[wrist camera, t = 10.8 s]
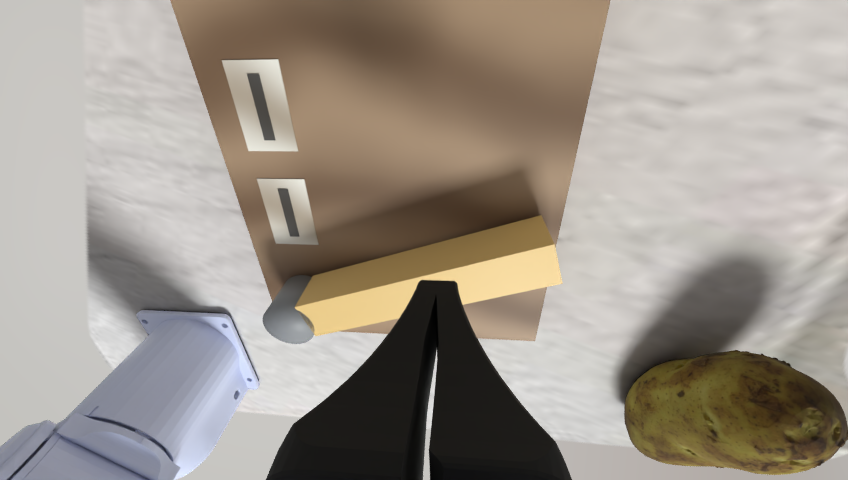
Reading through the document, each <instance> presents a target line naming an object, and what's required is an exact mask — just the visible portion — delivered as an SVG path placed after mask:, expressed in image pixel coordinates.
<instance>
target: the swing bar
mask: <svg viewBox="0 0 848 480" xmlns="http://www.w3.org/2000/svg"><path fill="white" fill-rule="evenodd" d="M421 280H441V281H455V282H456V283H457V284H458V291H459V295H460V298H461V302H462V305H464V304H469V303H474V302H478V301H483V300H488V299H492V298H497V297H502V296H506V295H511V294H516V293H521V292H525V291H530V290H535V289H539V288H544V287H549V286H553V285H558V284H562V279H561V274H560V269H559V264H558V259H557V254H556V249H555V244H554V242H553V240H552V238H551V235H550V233H549V231H548V229H547V227H546V224H545V222H544V220H543V218H542V215H540V216H536V217H532V218H529V219H525V220H521V221H517V222H514V223H510V224H506V225H502V226H499V227H495V228H491V229H487V230H483V231H480V232H476V233H472V234H468V235H465V236H461V237H457V238H453V239H450V240H446V241H442V242H438V243H434V244H431V245H427V246H423V247H419V248H416V249H412V250H408V251H404V252H401V253H397V254H393V255H389V256H385V257H382V258H378V259H374V260H370V261H367V262H363V263H359V264H355V265H352V266H348V267H344V268H340V269H336V270H333V271H329V272H325V273H321V274H318V275H314V276H312V277H310V276H306V275H297V276H293V277H291V278H289V279H288V280H287V281H286V282H285V284H284V285H283V287H282V288H281V290H280V291H279V293H278V294H277V296H276V297H275V299H274V300H273V302H272V303H271V305H270V306H269V308H268V309H267V311H266V312H265V314H264V316H263V324H264V326H265V328H266V330H267V331H268V332H269V333H270V334H271V335H272V336H274V337H275V338H277V339H279V340H281V341H283V342H286V343H291V344H301V343H305V342H307V341H309V340H310V339H311V338H312V337H313V335H315V336H319V335H323V334H328V333H333V332H337V331H342V330H347V329H352V328H356V327H361V326H366V325H370V324H375V323H380V322H384V321H389V320H394V319H399V318H400V316H401V315H402V313H403V311H404V310H405V308H406V307H407V305H408V303H409V301H410V299H411V298H412V296H413V294H414V292H415V290H416V287H417V285H418V282H419V281H421Z"/></svg>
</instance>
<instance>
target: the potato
mask: <svg viewBox="0 0 848 480" xmlns="http://www.w3.org/2000/svg"><path fill="white" fill-rule="evenodd" d="M624 415H625V424H626V428H627V430H628V434H629V437H630V440H631V441H632V443H633V445H634V446H635V447H636V448H637V449H638V450H639V451H640V452H641V453H643V454H644V455H646V456H647V457H650V458H652V459H654V460H656V461H659V462H662V463H666V464H672V465H682V466H715V467H717V468H718V467H720V468H724V467H727V468H734V469H740V470H744V471H748V472H752V473H757V474H769V475H781V474H791V473H798V472H801V471H806V470H809V469H811V468H815V467H817V466H820V465H821V464H822V463H824V462H825V461H827V460H828V459H830V458H831V457H832V456H833V455H834V454H835V453H836V452H837V451H838V449H839V448H840V447H842V446H843V445H844V444H845V441H847V440H848V427H847V421H846V417H845V414H844V411H843V409H842V407H841V405H840V403H839V402H838V401H837V399H836V398H835V396H834V395H833V394H832V393H831V392H830V391H829V390H828V389H827V388H825V387H824V386H823V385H822V384H820V383H819V382H817V381H816V380H814V379H813V378H811V377H809V376H807V375H805V374H803V373H801V372H799V371H797V370H795V369H793V368H792V367H791V366H790V364H789V363H786V362H785V361H779V360H778V359H777V358H771V357H767V356H764V355H763V354H761V355H759V354H754V353H750V352H740V351H738V350H734V351H728V352H722V353H713V354H708V355H703V356H698V357H697V358H695V359H680V360H673V361H669V362H665V363H662V364H659V365H657V366H655V367H653V368H651V369H650V370H648V371H647V372H646V373H644V374H643V375H642V376H640V377H639V378H638V380H637V381H636V382H635V383H634V384H633V385H632V387H631V388H630V390H629V392H628V394H627V397H626V401H625V413H624Z"/></svg>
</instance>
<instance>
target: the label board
mask: <svg viewBox="0 0 848 480" xmlns="http://www.w3.org/2000/svg"><path fill="white" fill-rule="evenodd" d="M170 1H171V4H172V7H173V9H174V12H175V15H176V18H177V21H178V24H179V27H180V30H181V33H182V36H183V39H184V42H185V45H186V48H187V51H188V54H189V57H190V60H191V63H192V66H193V69H194V71H195V74H196V77H197V80H198V83H199V86H200V89H201V92H202V95H203V98H204V101H205V104H206V107H207V110H208V113H209V116H210V119H211V122H212V125H213V128H214V131H215V133H216V136H217V139H218V142H219V145H220V148H221V151H222V154H223V157H224V160H225V163H226V166H227V169H228V172H229V175H230V178H231V181H232V184H233V187H234V190H235V193H236V195H237V198H238V201H239V204H240V207H241V210H242V213H243V216H244V219H245V222H246V225H247V228H248V231H249V234H250V237H251V240H252V243H253V246H254V249H255V252H256V255H257V257H258V260H259V263H260V266H261V269H262V272H263V275H264V278H265V281H266V284H267V287H268V290H269V293H270V296H271V299H272V302H273V300H274V299H275V297H276V296H277V294H278V293H279V291H280V290H281V288H282V287H283V285H284V284H285V282H286V281H287V280H288V279H289V278H291V277H293V276H297V275H306V276H310V277H312V276H314V275H318V274H321V273H325V272H329V271H333V270H336V269H340V268H344V267H348V266H352V265H355V264H359V263H363V262H367V261H370V260H374V259H378V258H382V257H385V256H389V255H393V254H397V253H401V252H404V251H408V250H412V249H416V248H419V247H423V246H427V245H431V244H434V243H438V242H442V241H446V240H450V239H453V238H457V237H461V236H465V235H468V234H472V233H476V232H480V231H483V230H487V229H491V228H495V227H499V226H502V225H506V224H510V223H514V222H517V221H521V220H525V219H529V218H532V217H536V216H540V215H542V218H543V220H544V222H545V224H546V227H547V229H548V231H549V233H550V235H551V238H552V240H553V242H554V244H555V248H556V244H557V239H558V235H559V230H560V226H561V221H562V217H563V212H564V207H565V203H566V198H567V194H568V189H569V185H570V180H571V176H572V171H573V167H574V162H575V158H576V153H577V149H578V144H579V140H580V135H581V131H582V126H583V122H584V117H585V113H586V108H587V104H588V99H589V95H590V90H591V86H592V81H593V77H594V72H595V67H596V63H597V58H598V54H599V49H600V45H601V40H602V36H603V31H604V27H605V22H606V18H607V13H608V9H609V4H610V0H170ZM546 289H547V287H544V288H539V289H535V290H530V291H525V292H521V293H516V294H511V295H506V296H502V297H497V298H492V299H488V300H483V301H478V302H474V303H469V304H464V305H463V307H464V310H465V313H466V315H467V317H468V320H469V322H470V324H471V327H472V329H473V331H474V333H475V335H476V337H477V338H483V339H504V340H524V341H535V338H536V334H537V329H538V325H539V320H540V316H541V311H542V307H543V302H544V298H545V293H546ZM397 321H398V319H394V320H389V321H384V322H380V323H375V324H370V325H366V326H361V327H356V328H352V329H347V330H342V332H362V333H382V334H389V332H390V331H391V329H392V328H393V327H394V325H395V324H396V322H397Z"/></svg>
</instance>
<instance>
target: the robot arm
mask: <svg viewBox="0 0 848 480" xmlns="http://www.w3.org/2000/svg"><path fill="white" fill-rule="evenodd" d="M136 316H137V318H138V319H139V321H140V323H141V324H142V326H143V327H144V329H145V330H146V332H147V334H148V335H149V336H148V337H147V338H146V339H145V340H144V341H143V342H142V343H141V344H140V345H139V346H138V347H137V348H136V349H135V350H134V351H133V352H132V353H131V354H130V355H129V356H128V357H127V358H126V359H125V360H124V361H123V362H122V363H121V364H119V365H118V366H117V367H116V368H115V369H114V370H113V371H112V372H111V374H109V375H108V377H106V378H105V380H103V381H102V382H101V384H99V385H98V387H96V388H95V389H94V390H93V391H92V392H91V393H90V394H89V395H88V396H87V397H86V398H85V399H84V400H83V401H82V402H81V403H80V404H79V405H78V406H77V407H76V408H75V409H74V410H73V411H72V412H71V413H70V414H69V415H68V416H67V417H66V419H64V420H62V421H61V422H59V423H58V424H55V423H53V422H51V421H49V420H46V421H43V422H41V423H37V424H33V425H28V426H26V427H25V428H23V429H22V430H20V431H19V432H18V433H16V434H15V435H14V436H13V437H11V438H10V439H9V440H8V441H7V442H5V443H4V444H3V445H2V446H1V447H0V480H177V479H179V478H181V477H183V476H185V475H187V474H188V473H190V472H191V471H192V470H194V469H195V468H196V467H197V466H199V465H200V464H201V463H202V462H203V461H204V460H205V459H206V458H207V457H208V455H209V454H210V453H211V452H212V450H213V449H214V447H215V445H216V444H217V442H218V440H219V439H220V437H221V435H222V433H223V431H224V430H225V428H226V426H227V425H228V423H229V421H230V420H231V418H232V416H233V414H234V413H235V411H236V409H237V407H238V406H239V404H240V402H241V401H242V399H243V397H244V395H245V394H246V392H247V390H248V389H258V387H259V385H260V384H259V381H258V379H257V377H256V375H255V372H254V370H253V368H252V365H251V363H250V361H249V359H248V356H247V354H246V352H245V350H244V347H243V345H242V343H241V340H240V338H239V336H238V334H237V331H236V329H235V327H234V325H233V322H232V320H231V318H230V316H228V315H226V314H217V313H196V312H174V311H153V310H140V311H139V312H138V313H137V314H136ZM436 350H437V358H438V360H437V372H436V384H435V396H434V407H433V417H432V427H431V437H430V446H429V458H430V459H429V460H430V480H572V479H571V477H570V473H569V471H568V468H567V466H566V463H565V461H564V459H563V456H562V454H561V452H560V450H559V448H558V446H557V444H556V442H555V441H554V440H553V439H552V438H551V437H550V435H549V434H548V433H547V432H546V431H545V430H544V429H543V428H542V427H541V426H540V425H539V424H538V423H537V421H536V420H535V419H534V418H533V417H532V416H531V415H530V414H529V412H528V411H527V410H526V409H525V408H524V406H523V405H522V404H521V403H520V402H519V400H518V399H517V398H516V396H515V395H514V394H513V393H512V391H511V390H510V389H509V387H508V386H507V385H506V383H505V382H504V381H503V379H502V378H501V377H500V375H499V374H498V372H497V371H496V369H495V368H494V366H493V365H492V363H491V361H490V360H489V358H488V356H487V355H486V353H485V351H484V350H483V348H482V346H481V344H480V343H479V341H478V339H477V337H476V335H475V333H474V331H473V329H472V327H471V324H470V322H469V320H468V317H467V315H466V313H465V310H464V307H463V305H462V302H461V298H460V295H459V291H458V284H457V283H456V282H455V281H441V280H421V281H419V282H418V285H417V287H416V290H415V292H414V294H413V296H412V298H411V299H410V301H409V303H408V305H407V307H406V308H405V310H404V311H403V313H402V315H401V316H400V318H399V319H398V321H397V322H396V324H395V325H394V327H393V328H392V329H391V331H390V332H389V334H388V335H387V336H386V338H385V339H384V340H383V342H382V343H381V344H380V345H379V347H378V348H377V349H376V350H375V351H374V352H373V354H372V355H371V356H370V357H369V358H368V359H367V360H366V361H365V362H364V364H363V365H362V366H361V367H360V368H359V369H358V370H357V371H356V372H355V373H354V374H353V375H352V376H351V377H350V378H349V379H348V380H347V381H346V382H344V383H343V384H342V385H341V386H340V387H339V388H338V389H337V390H335V391H334V392H333V393H332V394H331V395H330V396H329V397H328V398H326V399H325V400H324V401H323V402H322V403H320V404H319V405H318V406H316V407H315V408H314V409H312V410H311V411H310V412H308V413H307V414H306V415H305V416H303V417H302V418H301V419H299V420H298V421H297V422H296V423H294V424H293V425H292V427H291V429H290V431H289V432H288V434H287V436H286V437H285V439H284V441H283V443H282V445H281V447H280V448H279V450H278V452H277V455H276V457H275V459H274V462H273V464H272V466H271V469H270V471H269V474H268V476H267V479H266V480H423V465H424V450H425V434H426V419H427V409H428V401H429V395H430V388H431V382H432V376H433V369H434V363H435V356H436Z"/></svg>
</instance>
